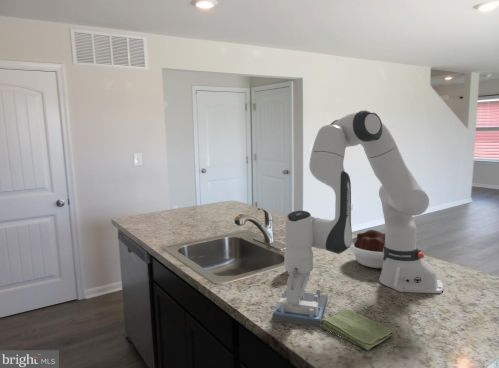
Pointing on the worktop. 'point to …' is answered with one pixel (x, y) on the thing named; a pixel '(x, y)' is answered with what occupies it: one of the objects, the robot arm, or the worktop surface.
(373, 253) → the chocolate pudding dish
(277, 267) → the worktop surface
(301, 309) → the bar
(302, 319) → the board
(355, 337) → the washcloth
